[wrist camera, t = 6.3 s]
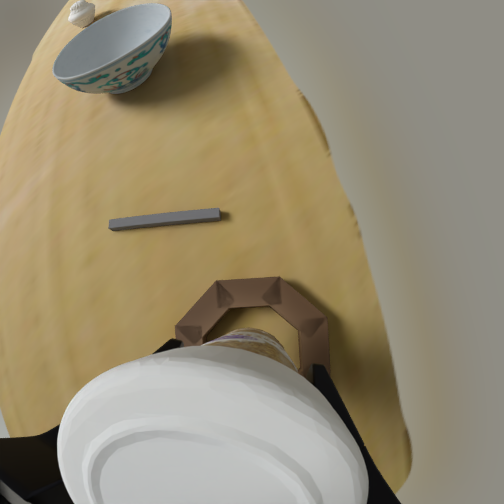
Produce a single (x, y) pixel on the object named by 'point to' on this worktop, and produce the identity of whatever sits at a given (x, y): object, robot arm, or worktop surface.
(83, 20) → the white owl figurine
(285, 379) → the sprinkles bottle
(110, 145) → the worktop surface
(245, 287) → the walnut ring
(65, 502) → the robot arm
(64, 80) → the chinaware
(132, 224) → the grey rectangular bar
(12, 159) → the worktop surface
